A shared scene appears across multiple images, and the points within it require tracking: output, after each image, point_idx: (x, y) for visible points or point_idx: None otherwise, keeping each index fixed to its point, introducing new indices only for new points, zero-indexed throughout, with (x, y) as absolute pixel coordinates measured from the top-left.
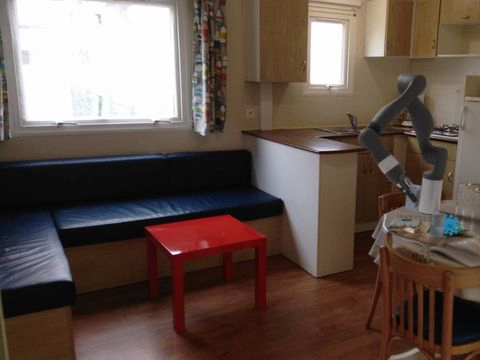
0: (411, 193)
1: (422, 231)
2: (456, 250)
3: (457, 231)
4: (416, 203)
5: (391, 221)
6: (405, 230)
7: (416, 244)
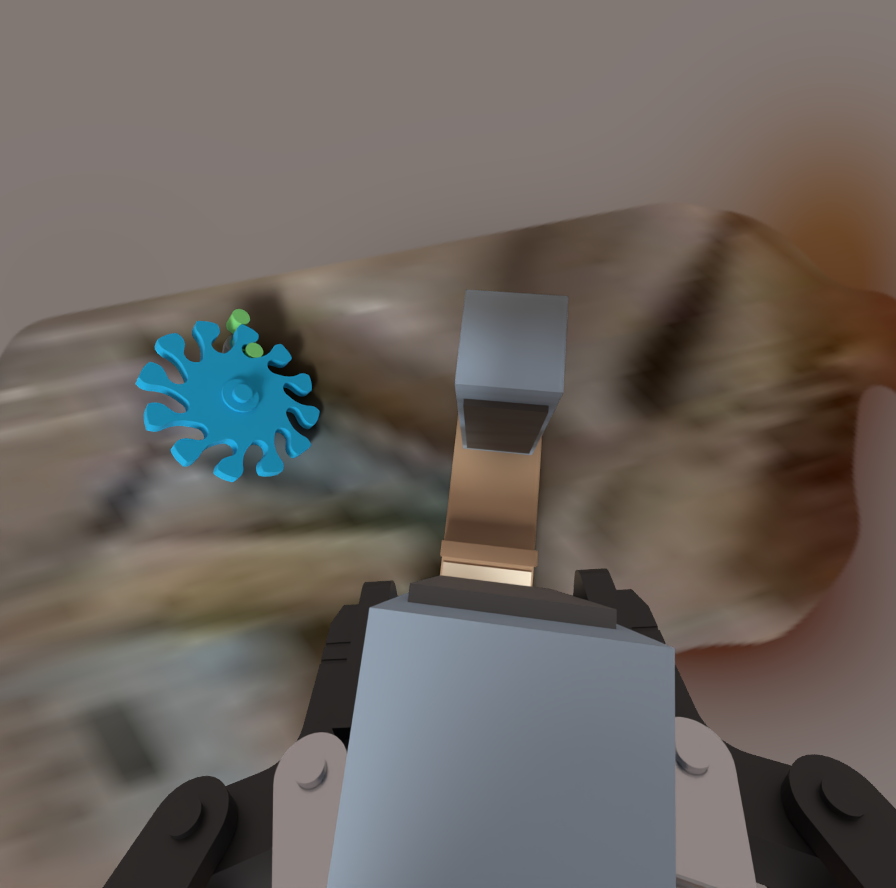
0: (682, 728)
1: (449, 523)
2: None
3: (278, 346)
4: (546, 590)
5: None
6: None
7: (616, 515)
